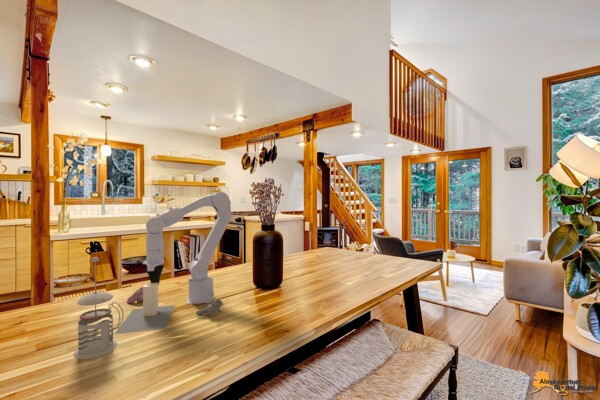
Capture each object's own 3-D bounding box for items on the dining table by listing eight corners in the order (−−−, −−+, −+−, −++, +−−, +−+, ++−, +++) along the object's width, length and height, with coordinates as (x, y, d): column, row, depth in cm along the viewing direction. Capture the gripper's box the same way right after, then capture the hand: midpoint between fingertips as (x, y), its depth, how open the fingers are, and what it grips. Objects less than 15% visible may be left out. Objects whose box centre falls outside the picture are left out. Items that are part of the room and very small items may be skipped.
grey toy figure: (201, 311, 106) (225, 301, 107) (203, 327, 103) (228, 316, 104) (189, 301, 99) (215, 290, 100) (191, 318, 95) (218, 307, 96)
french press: (88, 341, 84) (87, 253, 84) (130, 339, 85) (130, 252, 85) (63, 360, 74) (62, 261, 74) (112, 358, 75) (111, 260, 75)
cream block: (158, 310, 105) (158, 282, 105) (156, 314, 101) (155, 286, 101) (146, 311, 104) (145, 283, 104) (143, 316, 100) (142, 286, 100)
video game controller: (134, 309, 112) (141, 293, 111) (124, 303, 113) (131, 287, 112) (151, 300, 122) (158, 285, 121) (143, 294, 122) (149, 280, 122)
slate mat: (175, 306, 110) (175, 305, 110) (165, 329, 91) (165, 328, 91) (133, 310, 107) (133, 309, 107) (114, 335, 87) (114, 333, 87)
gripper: (147, 246, 116) (148, 281, 116) (137, 253, 101) (137, 292, 102) (167, 245, 117) (167, 279, 117) (159, 252, 103) (160, 291, 103)
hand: (155, 285), depth 110 cm, fingers closed
